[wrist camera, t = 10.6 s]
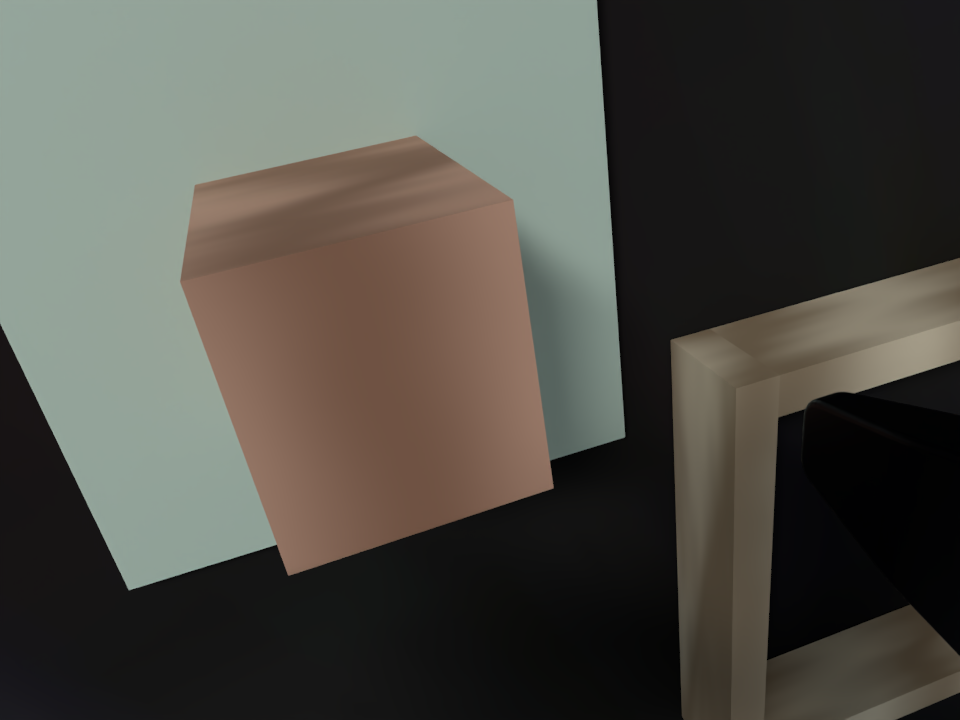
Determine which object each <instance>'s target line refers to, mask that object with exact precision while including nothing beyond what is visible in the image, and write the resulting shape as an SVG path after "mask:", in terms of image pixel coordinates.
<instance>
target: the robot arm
mask: <svg viewBox="0 0 960 720" xmlns="http://www.w3.org/2000/svg"><path fill="white" fill-rule="evenodd" d="M801 461H802V466H803V469H804V472H805V474H806V476H807V478H808V479H809V481H810V482H811V484H812V485H813V486H814V487H815V489H816V490H817V491H818V493H819V494H820V495H821V496H822V498H823V499H824V500H825V501H826V503H827V504H828V505H829V507H830V508H831V509H832V510H833V512H834V513H835V514H836V515H837V517H838V518H839V519H840V521H841V522H842V523H843V524H844V526H845V527H846V528H847V529H848V531H849V532H850V533H851V535H852V536H853V537H854V538H855V540H856V541H857V542H858V543H859V545H860V546H861V547H862V549H863V550H864V551H865V552H866V554H867V555H868V556H869V557H870V559H871V560H872V561H873V563H874V564H875V565H876V566H877V567H878V569H879V570H880V571H881V572H882V573H883V575H884V576H885V577H886V578H887V579H888V581H889V582H890V583H891V584H892V585H893V586H894V587H895V588H896V590H897V591H898V592H899V593H900V594H901V595H902V596H903V597H904V598H905V599H906V600H907V602H908V603H909V604H910V605H911V606H912V607H913V608H914V609H915V610H916V611H917V612H918V613H919V614H920V615H921V616H922V617H923V618H924V619H925V620H926V621H927V623H928V624H929V625H930V626H931V627H932V628H933V629H934V630H935V631H936V632H937V633H938V634H939V635H940V636H941V637H942V638H943V639H944V640H945V641H946V642H947V643H948V645H949V646H950V647H951V648H952V649H953V650H954V651H955V652H956V653H957V654H958V655H959V656H960V415H956V414H951V413H946V412H942V411H937V410H932V409H927V408H922V407H917V406H912V405H907V404H902V403H898V402H893V401H888V400H883V399H878V398H873V397H868V396H863V395H859V394H854V393H849V392H836V393H832V394H829V395H826V396H823V397H820V398H817V399H814V400H812V401H811V402H809V403H808V405H807V406H806V408H805V412H804V423H803V438H802V453H801Z"/></svg>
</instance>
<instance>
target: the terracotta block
mask: <svg viewBox="0 0 960 720" xmlns="http://www.w3.org/2000/svg"><path fill="white" fill-rule="evenodd" d="M180 283H181V286H182V289H183V291H184V294H185V297H186V299H187V302H188V305H189V308H190V310H191V313H192V316H193V318H194V321H195V324H196V327H197V329H198V332H199V335H200V337H201V340H202V343H203V345H204V348H205V351H206V354H207V356H208V359H209V362H210V364H211V367H212V370H213V373H214V375H215V378H216V381H217V383H218V386H219V389H220V392H221V394H222V397H223V400H224V402H225V405H226V408H227V411H228V413H229V416H230V419H231V421H232V424H233V427H234V429H235V432H236V435H237V438H238V440H239V443H240V446H241V448H242V451H243V454H244V457H245V459H246V462H247V465H248V467H249V470H250V473H251V476H252V478H253V481H254V484H255V486H256V489H257V492H258V495H259V497H260V500H261V503H262V505H263V508H264V511H265V513H266V516H267V519H268V522H269V524H270V527H271V530H272V532H273V535H274V538H275V541H276V543H277V546H278V549H279V551H280V554H281V557H282V560H283V562H284V565H285V568H286V570H287V573H288V576H289V575H292V574H295V573H298V572H301V571H304V570H307V569H310V568H313V567H316V566H319V565H322V564H325V563H328V562H332V561H335V560H338V559H341V558H344V557H347V556H350V555H353V554H356V553H359V552H362V551H365V550H368V549H371V548H374V547H377V546H380V545H383V544H386V543H389V542H392V541H395V540H398V539H401V538H404V537H407V536H410V535H413V534H416V533H419V532H422V531H425V530H428V529H431V528H434V527H437V526H441V525H444V524H447V523H450V522H453V521H456V520H459V519H462V518H465V517H468V516H471V515H474V514H477V513H480V512H483V511H486V510H489V509H492V508H495V507H498V506H501V505H504V504H507V503H510V502H513V501H516V500H519V499H522V498H525V497H528V496H531V495H534V494H537V493H540V492H543V491H547V490H550V489H553V488H554V487H553V480H552V473H551V466H550V459H549V451H548V444H547V437H546V430H545V423H544V416H543V409H542V401H541V394H540V387H539V380H538V373H537V366H536V359H535V352H534V344H533V337H532V330H531V323H530V316H529V309H528V302H527V294H526V287H525V280H524V273H523V266H522V259H521V252H520V244H519V237H518V230H517V223H516V216H515V209H514V202H513V199H512V198H510V197H509V196H507V195H505V194H504V193H502V192H501V191H499V190H498V189H496V188H495V187H493V186H492V185H490V184H489V183H487V182H486V181H484V180H483V179H481V178H480V177H478V176H477V175H475V174H474V173H472V172H471V171H469V170H468V169H466V168H465V167H463V166H462V165H460V164H459V163H457V162H456V161H454V160H453V159H451V158H450V157H448V156H447V155H445V154H443V153H442V152H440V151H439V150H437V149H436V148H434V147H433V146H431V145H430V144H428V143H427V142H425V141H424V140H422V139H421V138H419V137H418V136H412V137H407V138H403V139H398V140H394V141H389V142H385V143H380V144H376V145H371V146H367V147H362V148H358V149H353V150H349V151H345V152H340V153H336V154H331V155H327V156H322V157H318V158H313V159H309V160H304V161H300V162H295V163H291V164H286V165H282V166H277V167H273V168H268V169H264V170H259V171H255V172H250V173H246V174H241V175H237V176H232V177H228V178H223V179H219V180H215V181H210V182H206V183H201V184H197V185H195V187H194V194H193V200H192V207H191V213H190V220H189V226H188V233H187V239H186V246H185V253H184V259H183V266H182V272H181V279H180Z"/></svg>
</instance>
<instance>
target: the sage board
mask: <svg viewBox="0 0 960 720" xmlns="http://www.w3.org/2000/svg"><path fill="white" fill-rule="evenodd" d="M412 136H418V137H419V138H421V139H422V140H424V141H425V142H427V143H428V144H430V145H431V146H433V147H434V148H436V149H437V150H439V151H440V152H442V153H443V154H445V155H447V156H448V157H450V158H451V159H453V160H454V161H456V162H457V163H459V164H460V165H462V166H463V167H465V168H466V169H468V170H469V171H471V172H472V173H474V174H475V175H477V176H478V177H480V178H481V179H483V180H484V181H486V182H487V183H489V184H490V185H492V186H493V187H495V188H496V189H498V190H499V191H501V192H502V193H504V194H505V195H507V196H509V197H510V198H512V199H513V202H514V209H515V216H516V223H517V230H518V237H519V244H520V252H521V259H522V266H523V273H524V280H525V287H526V294H527V302H528V309H529V316H530V323H531V330H532V337H533V344H534V352H535V359H536V366H537V373H538V380H539V387H540V394H541V401H542V409H543V416H544V423H545V430H546V437H547V444H548V451H549V459H550V460H553V459H556V458H559V457H563V456H566V455H569V454H572V453H576V452H579V451H582V450H585V449H589V448H592V447H595V446H598V445H601V444H605V443H608V442H611V441H614V440H618V439H621V438H624V437H625V427H624V411H623V396H622V381H621V365H620V350H619V334H618V319H617V304H616V288H615V273H614V258H613V242H612V227H611V211H610V196H609V181H608V165H607V150H606V135H605V119H604V104H603V88H602V73H601V58H600V42H599V27H598V12H597V0H0V324H1V326H2V328H3V330H4V332H5V334H6V336H7V338H8V340H9V342H10V344H11V347H12V349H13V351H14V353H15V355H16V357H17V359H18V361H19V363H20V365H21V367H22V369H23V371H24V374H25V376H26V378H27V380H28V382H29V384H30V386H31V388H32V390H33V392H34V394H35V396H36V398H37V400H38V403H39V405H40V407H41V409H42V411H43V413H44V415H45V417H46V419H47V421H48V423H49V425H50V427H51V430H52V432H53V434H54V436H55V438H56V440H57V442H58V444H59V446H60V448H61V450H62V452H63V454H64V456H65V459H66V461H67V463H68V465H69V467H70V469H71V471H72V473H73V475H74V477H75V479H76V481H77V483H78V486H79V488H80V490H81V492H82V494H83V496H84V498H85V500H86V502H87V504H88V506H89V508H90V510H91V512H92V515H93V517H94V519H95V521H96V523H97V525H98V527H99V529H100V531H101V533H102V535H103V537H104V539H105V542H106V544H107V546H108V548H109V550H110V552H111V554H112V556H113V558H114V560H115V562H116V564H117V566H118V568H119V571H120V573H121V575H122V577H123V579H124V581H125V583H126V585H127V587H128V589H129V590H131V589H134V588H138V587H141V586H144V585H147V584H151V583H154V582H157V581H160V580H164V579H167V578H170V577H173V576H177V575H180V574H183V573H186V572H190V571H193V570H196V569H199V568H203V567H206V566H209V565H212V564H216V563H219V562H222V561H225V560H229V559H232V558H235V557H238V556H241V555H245V554H248V553H251V552H254V551H258V550H261V549H264V548H267V547H271V546H274V545H277V543H276V541H275V538H274V535H273V532H272V530H271V527H270V524H269V522H268V519H267V516H266V513H265V511H264V508H263V505H262V503H261V500H260V497H259V495H258V492H257V489H256V486H255V484H254V481H253V478H252V476H251V473H250V470H249V467H248V465H247V462H246V459H245V457H244V454H243V451H242V448H241V446H240V443H239V440H238V438H237V435H236V432H235V429H234V427H233V424H232V421H231V419H230V416H229V413H228V411H227V408H226V405H225V402H224V400H223V397H222V394H221V392H220V389H219V386H218V383H217V381H216V378H215V375H214V373H213V370H212V367H211V364H210V362H209V359H208V356H207V354H206V351H205V348H204V345H203V343H202V340H201V337H200V335H199V332H198V329H197V327H196V324H195V321H194V318H193V316H192V313H191V310H190V308H189V305H188V302H187V299H186V297H185V294H184V291H183V289H182V286H181V283H180V279H181V272H182V266H183V259H184V253H185V246H186V239H187V233H188V226H189V220H190V213H191V207H192V200H193V194H194V187H195V185H197V184H201V183H206V182H210V181H215V180H219V179H223V178H228V177H232V176H237V175H241V174H246V173H250V172H255V171H259V170H264V169H268V168H273V167H277V166H282V165H286V164H291V163H295V162H300V161H304V160H309V159H313V158H318V157H322V156H327V155H331V154H336V153H340V152H345V151H349V150H353V149H358V148H362V147H367V146H371V145H376V144H380V143H385V142H389V141H394V140H398V139H403V138H407V137H412Z"/></svg>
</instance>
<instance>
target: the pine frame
mask: <svg viewBox="0 0 960 720" xmlns="http://www.w3.org/2000/svg"><path fill="white" fill-rule="evenodd" d="M958 360H960V258H958V259H955V260H951V261H948V262H944V263H941V264H937V265H934V266H930V267H927V268H923V269H920V270H916V271H912V272H909V273H905V274H902V275H898V276H895V277H891V278H888V279H884V280H881V281H877V282H874V283H870V284H867V285H863V286H860V287H856V288H853V289H849V290H845V291H842V292H838V293H835V294H831V295H828V296H824V297H821V298H817V299H814V300H810V301H807V302H803V303H800V304H796V305H793V306H789V307H786V308H782V309H778V310H775V311H771V312H768V313H764V314H761V315H757V316H754V317H750V318H747V319H743V320H740V321H736V322H733V323H729V324H726V325H722V326H718V327H715V328H711V329H708V330H704V331H701V332H697V333H694V334H690V335H687V336H683V337H680V338H676V339H673V340H671V366H672V399H673V433H674V467H675V501H676V535H677V569H678V602H679V636H680V670H681V704H682V717H683V719H684V720H896V719H898V718H901V717H903V716H905V715H908V714H910V713H912V712H915V711H917V710H919V709H922V708H924V707H927V706H929V705H931V704H934V703H936V702H938V701H941V700H943V699H945V698H948V697H950V696H952V695H955V694H957V693H959V692H960V656H959V655H958V654H957V653H956V652H955V651H954V650H953V649H952V648H951V647H950V646H949V645H948V643H947V642H946V641H945V640H944V639H943V638H942V637H941V636H940V635H939V634H938V633H937V632H936V631H935V630H934V629H933V628H932V627H931V626H930V625H929V624H928V623H927V621H926V620H925V619H924V618H923V617H922V616H921V615H920V614H919V613H918V612H917V611H916V610H915V609H914V608H913V607H912V606H911V605H908V606H905V607H903V608H900V609H898V610H895V611H892V612H890V613H887V614H885V615H882V616H880V617H877V618H875V619H872V620H869V621H867V622H864V623H862V624H859V625H857V626H854V627H851V628H849V629H846V630H844V631H841V632H839V633H836V634H834V635H831V636H828V637H826V638H823V639H821V640H818V641H816V642H813V643H811V644H808V645H805V646H803V647H800V648H798V649H795V650H793V651H790V652H787V653H785V654H782V655H780V656H777V657H775V658H772V659H770V660H767V647H768V625H769V603H770V582H771V560H772V539H773V517H774V495H775V474H776V452H777V430H778V417H781V416H784V415H787V414H791V413H794V412H797V411H800V410H803V409H805V408H806V406H807V405H808V403H809V402H811V401H812V400H814V399H817V398H820V397H823V396H826V395H829V394H832V393H836V392H849V393H857V392H860V391H863V390H866V389H869V388H873V387H876V386H879V385H882V384H885V383H888V382H892V381H895V380H898V379H901V378H904V377H907V376H910V375H914V374H917V373H920V372H923V371H926V370H929V369H933V368H936V367H939V366H942V365H945V364H948V363H951V362H955V361H958Z"/></svg>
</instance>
